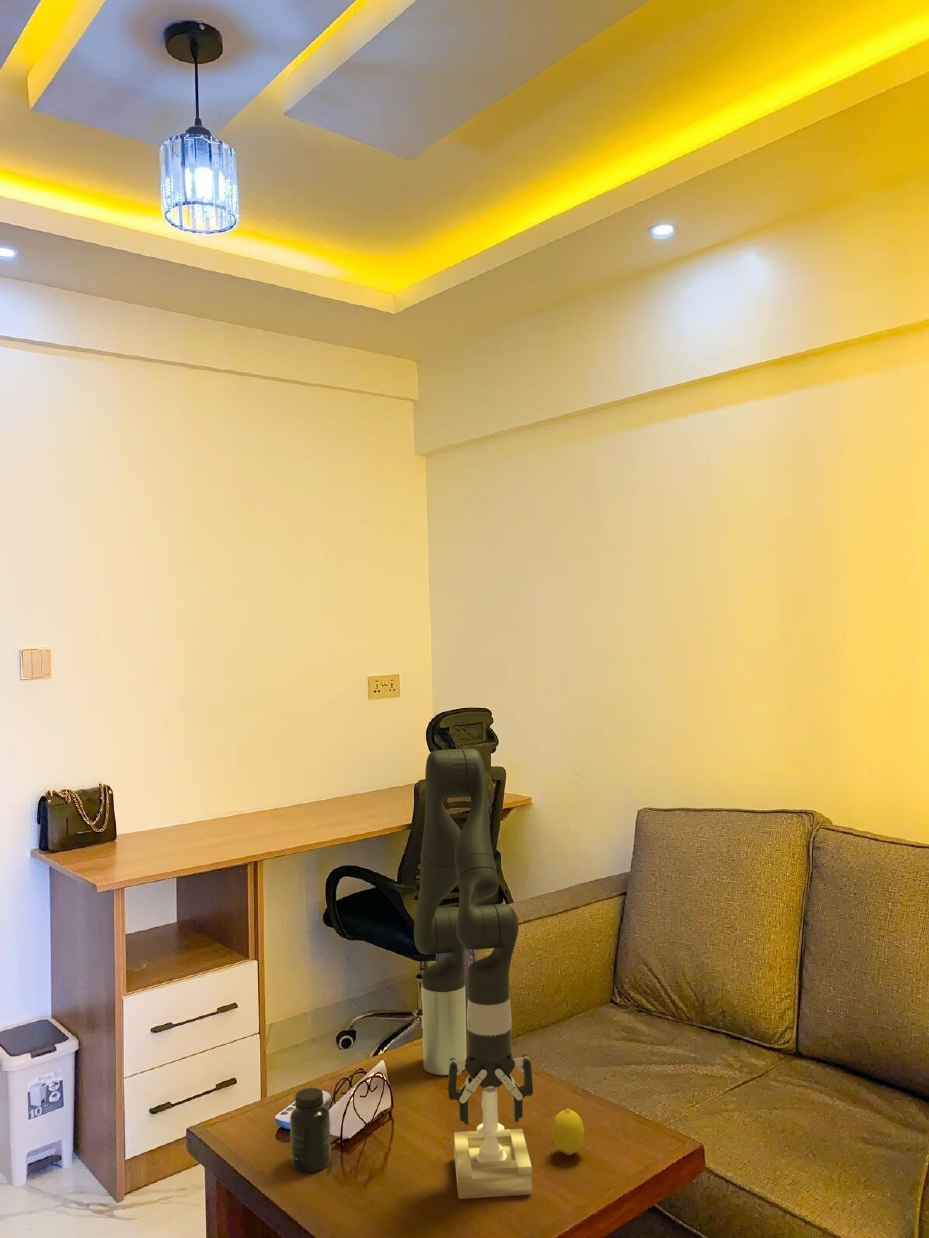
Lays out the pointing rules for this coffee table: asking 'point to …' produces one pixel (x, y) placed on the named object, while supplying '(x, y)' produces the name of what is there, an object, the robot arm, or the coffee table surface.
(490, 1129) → the candle
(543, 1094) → the coffee table surface
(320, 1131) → the supplement bottle
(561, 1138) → the lemon
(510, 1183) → the birch plinth
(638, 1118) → the coffee table surface
